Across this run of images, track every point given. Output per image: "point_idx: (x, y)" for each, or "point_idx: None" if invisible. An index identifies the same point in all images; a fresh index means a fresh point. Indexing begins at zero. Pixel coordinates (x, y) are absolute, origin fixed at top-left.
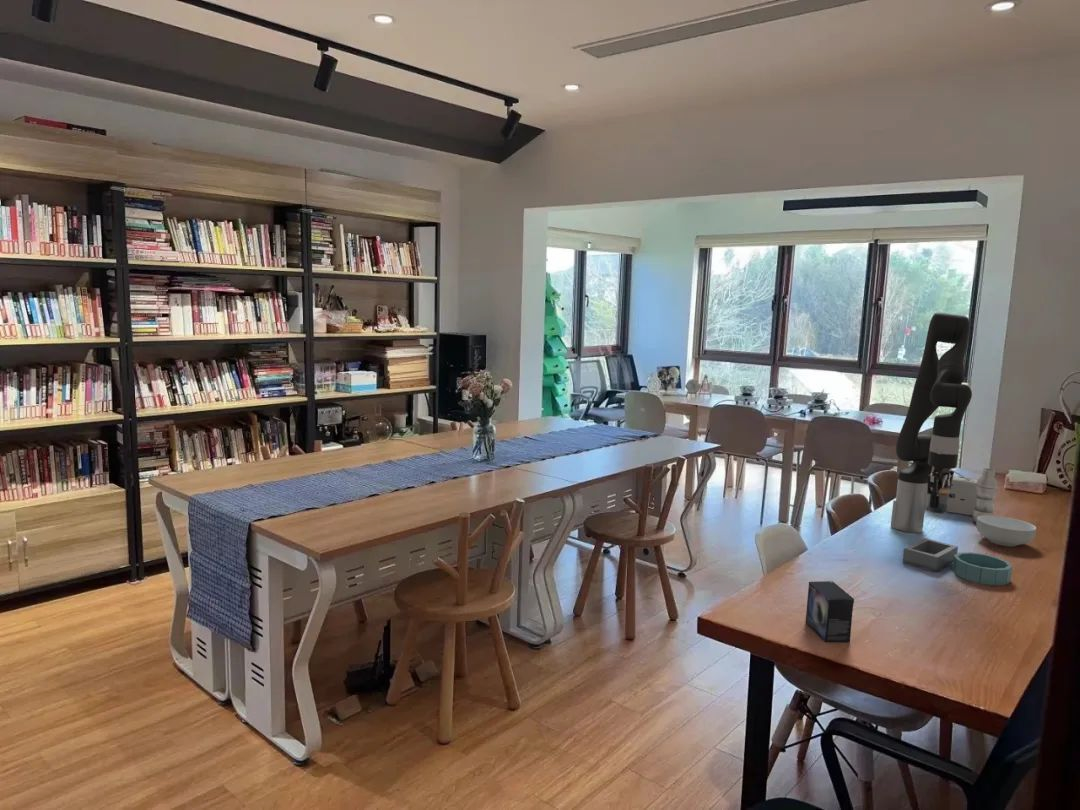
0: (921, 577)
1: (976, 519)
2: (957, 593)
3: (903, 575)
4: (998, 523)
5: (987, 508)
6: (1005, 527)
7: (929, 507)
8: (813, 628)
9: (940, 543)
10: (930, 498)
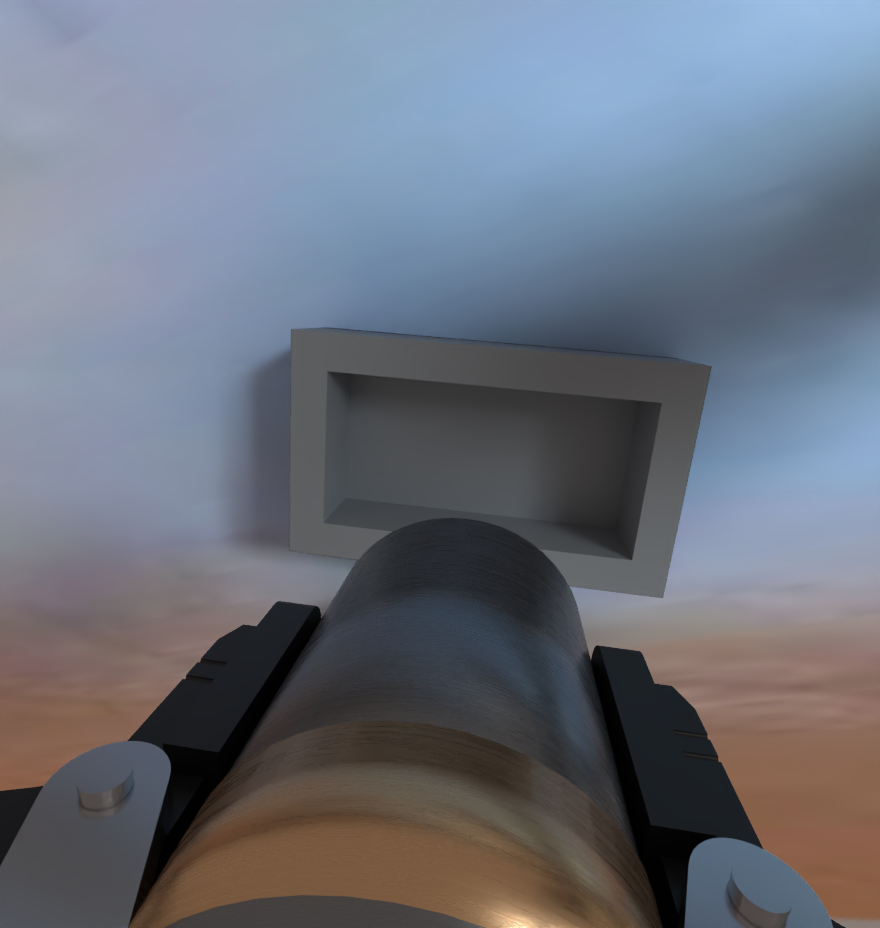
0: (177, 480)
1: None
2: (115, 649)
3: (123, 402)
4: None
5: None
6: None
7: (353, 573)
8: None
9: (644, 491)
10: (207, 690)
